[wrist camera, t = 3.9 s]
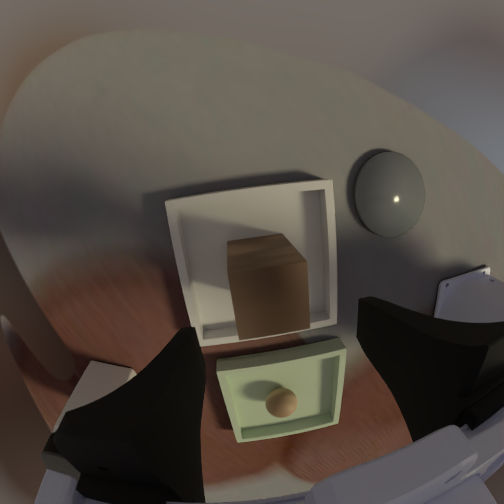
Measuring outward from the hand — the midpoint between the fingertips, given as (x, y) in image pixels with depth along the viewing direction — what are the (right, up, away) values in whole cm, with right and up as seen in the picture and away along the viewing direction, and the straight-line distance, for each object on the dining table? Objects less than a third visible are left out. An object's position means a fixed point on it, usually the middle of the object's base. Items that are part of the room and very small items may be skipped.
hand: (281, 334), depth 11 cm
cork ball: (+1, -10, +13) cm, 17 cm away
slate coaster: (+10, +8, +9) cm, 16 cm away
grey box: (-1, +3, +9) cm, 10 cm away
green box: (+2, -10, +14) cm, 17 cm away
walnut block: (-1, +3, +9) cm, 10 cm away
